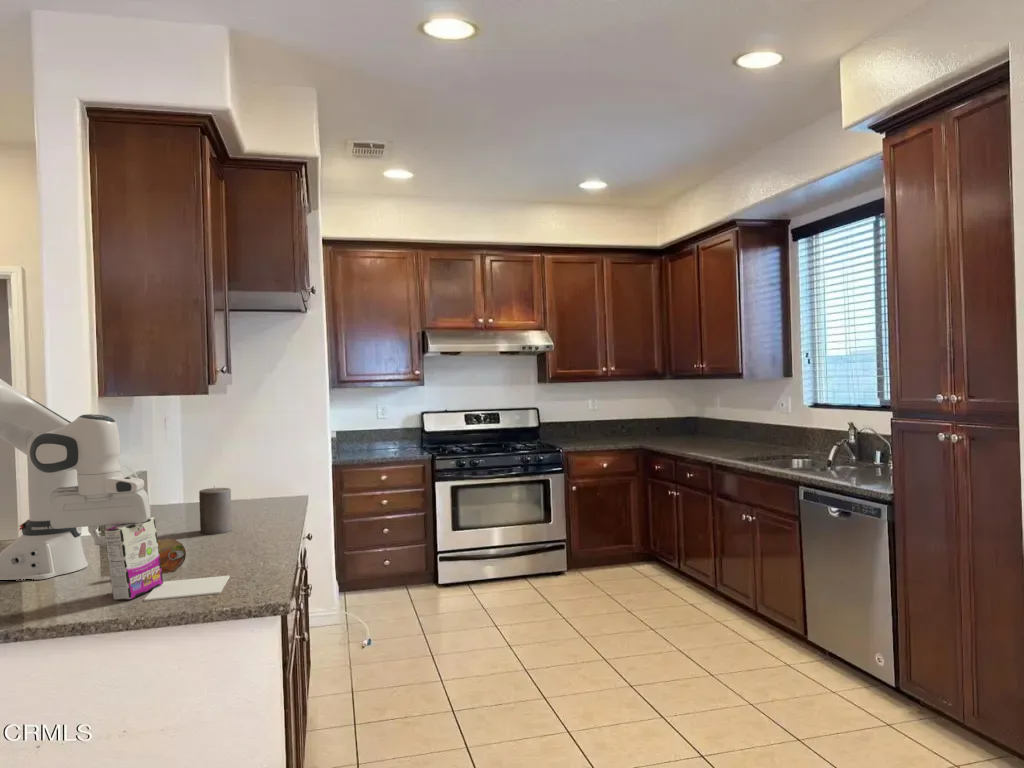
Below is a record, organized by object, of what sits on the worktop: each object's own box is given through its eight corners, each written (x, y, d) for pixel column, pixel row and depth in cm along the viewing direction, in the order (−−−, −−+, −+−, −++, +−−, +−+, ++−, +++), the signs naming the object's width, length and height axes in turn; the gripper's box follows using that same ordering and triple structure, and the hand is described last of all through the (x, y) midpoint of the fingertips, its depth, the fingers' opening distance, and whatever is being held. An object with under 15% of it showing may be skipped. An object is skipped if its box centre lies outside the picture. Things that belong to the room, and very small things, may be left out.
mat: (144, 601, 159) (144, 599, 159) (160, 583, 173) (159, 581, 173) (220, 593, 163) (220, 591, 163) (229, 577, 176) (229, 575, 176)
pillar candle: (194, 535, 227) (193, 488, 227) (208, 528, 237) (207, 483, 237) (224, 534, 227) (223, 488, 227) (237, 527, 237) (235, 483, 236)
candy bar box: (145, 585, 171) (138, 517, 171) (164, 584, 170) (156, 516, 170) (111, 600, 160) (102, 529, 160) (130, 600, 159) (121, 527, 159)
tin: (121, 580, 177) (120, 547, 177) (120, 577, 180) (118, 544, 180) (186, 569, 185) (185, 537, 185) (184, 567, 188) (183, 535, 188)
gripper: (43, 490, 158) (46, 551, 158) (143, 483, 162) (146, 543, 162) (55, 485, 164) (57, 545, 164) (151, 479, 168) (153, 537, 169)
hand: (102, 544), depth 163 cm, fingers closed
